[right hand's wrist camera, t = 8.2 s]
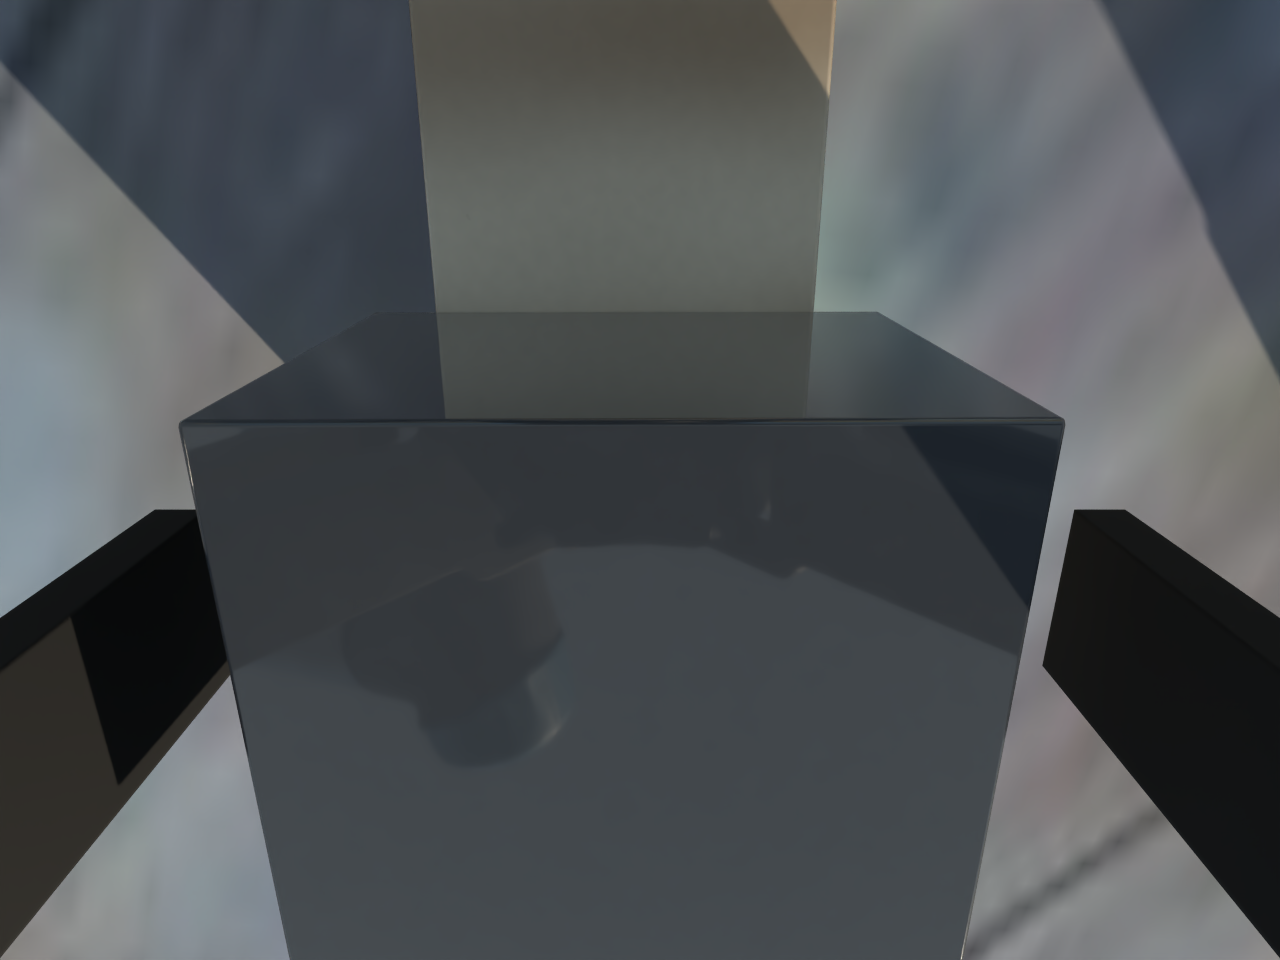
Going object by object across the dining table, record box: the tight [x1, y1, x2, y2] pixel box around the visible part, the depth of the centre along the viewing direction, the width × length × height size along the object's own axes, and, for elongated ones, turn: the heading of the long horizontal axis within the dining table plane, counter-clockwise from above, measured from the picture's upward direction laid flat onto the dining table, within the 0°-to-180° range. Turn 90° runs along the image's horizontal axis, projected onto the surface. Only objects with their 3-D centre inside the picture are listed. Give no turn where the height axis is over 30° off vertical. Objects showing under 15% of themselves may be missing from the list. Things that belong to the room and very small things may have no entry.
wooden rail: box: [409, 0, 837, 313], centre depth 14 cm, size 24×6×5 cm, turn 0°
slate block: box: [179, 312, 1065, 960], centre depth 12 cm, size 8×8×6 cm
